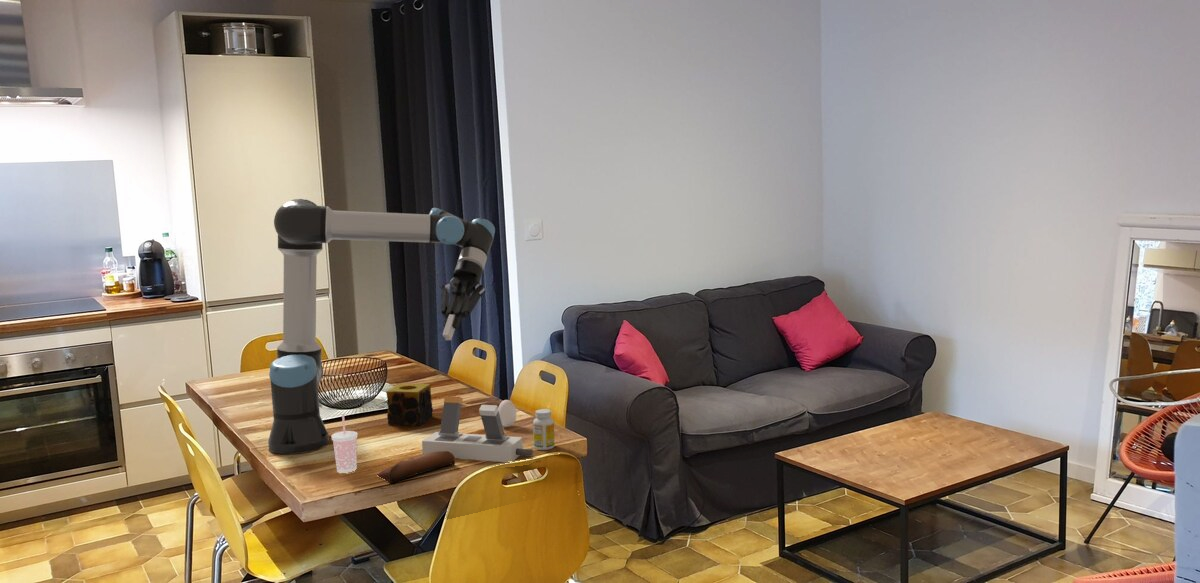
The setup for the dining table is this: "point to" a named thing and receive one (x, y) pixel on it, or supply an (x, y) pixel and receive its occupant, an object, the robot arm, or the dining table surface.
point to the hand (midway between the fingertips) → (446, 337)
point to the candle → (409, 404)
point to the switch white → (492, 422)
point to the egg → (507, 413)
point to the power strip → (477, 447)
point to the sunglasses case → (417, 465)
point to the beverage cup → (345, 449)
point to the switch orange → (450, 416)
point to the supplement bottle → (543, 430)
